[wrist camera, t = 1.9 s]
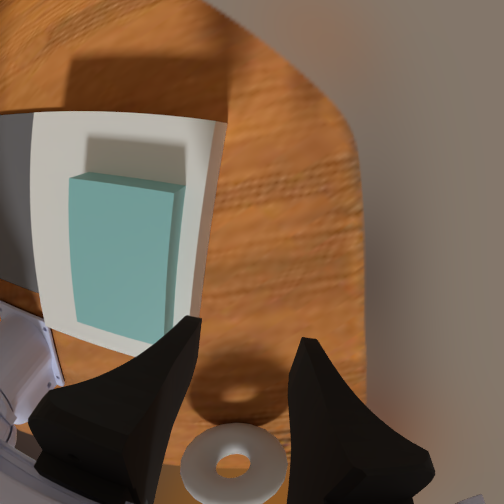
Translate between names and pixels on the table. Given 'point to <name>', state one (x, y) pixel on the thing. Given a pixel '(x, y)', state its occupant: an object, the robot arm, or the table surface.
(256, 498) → the donut
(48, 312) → the white flat block
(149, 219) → the teal rectangular block
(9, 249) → the mat
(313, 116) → the table surface
